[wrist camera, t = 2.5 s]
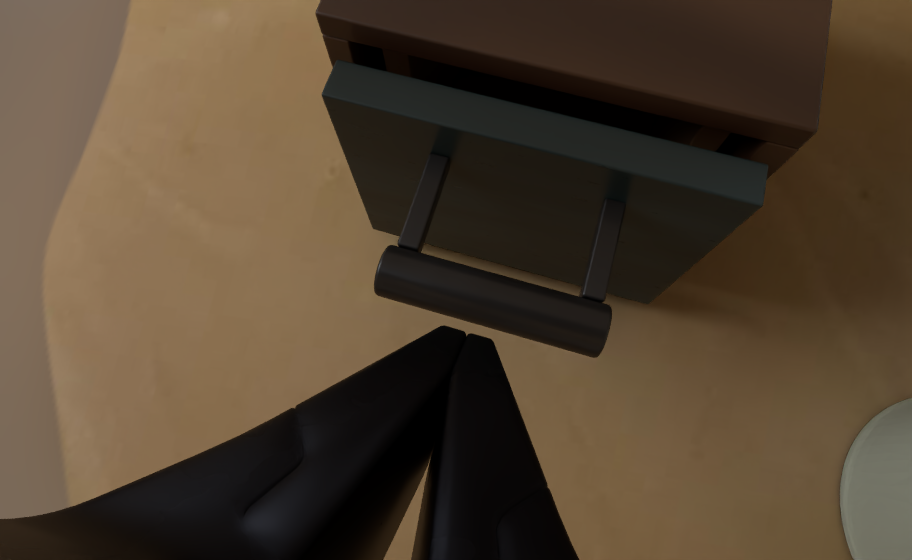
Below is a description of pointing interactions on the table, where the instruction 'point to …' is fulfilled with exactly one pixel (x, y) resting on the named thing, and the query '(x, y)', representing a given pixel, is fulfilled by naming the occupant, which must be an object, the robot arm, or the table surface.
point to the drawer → (530, 194)
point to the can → (880, 487)
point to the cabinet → (621, 55)
